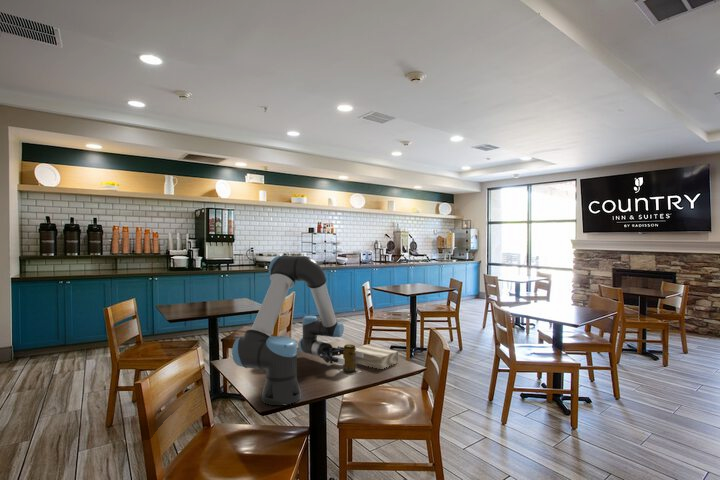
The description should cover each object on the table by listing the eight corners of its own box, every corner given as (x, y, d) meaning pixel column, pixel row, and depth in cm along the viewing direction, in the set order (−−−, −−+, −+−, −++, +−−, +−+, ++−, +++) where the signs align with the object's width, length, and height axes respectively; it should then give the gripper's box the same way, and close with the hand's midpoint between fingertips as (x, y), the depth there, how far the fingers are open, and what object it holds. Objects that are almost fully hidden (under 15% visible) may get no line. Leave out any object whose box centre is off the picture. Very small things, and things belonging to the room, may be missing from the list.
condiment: (350, 367, 188) (350, 342, 188) (361, 372, 182) (361, 346, 182) (338, 370, 184) (338, 345, 184) (349, 375, 177) (349, 349, 177)
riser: (381, 370, 184) (381, 357, 184) (350, 361, 197) (350, 349, 197) (398, 363, 195) (398, 351, 195) (367, 355, 208) (367, 344, 208)
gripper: (339, 351, 205) (370, 360, 191) (303, 363, 186) (335, 373, 172) (339, 337, 205) (370, 344, 191) (303, 347, 186) (335, 356, 172)
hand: (353, 358), depth 182 cm, fingers open, 13 cm apart
